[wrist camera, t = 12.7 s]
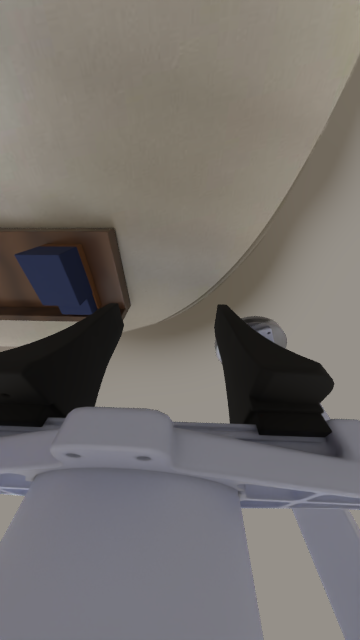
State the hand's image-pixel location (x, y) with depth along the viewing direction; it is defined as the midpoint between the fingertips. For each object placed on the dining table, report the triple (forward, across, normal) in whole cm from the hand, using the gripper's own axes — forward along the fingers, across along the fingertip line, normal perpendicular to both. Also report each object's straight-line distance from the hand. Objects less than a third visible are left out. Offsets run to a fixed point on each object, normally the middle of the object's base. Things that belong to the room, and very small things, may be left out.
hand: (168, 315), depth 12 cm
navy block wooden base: (+8, +12, +1) cm, 14 cm away
